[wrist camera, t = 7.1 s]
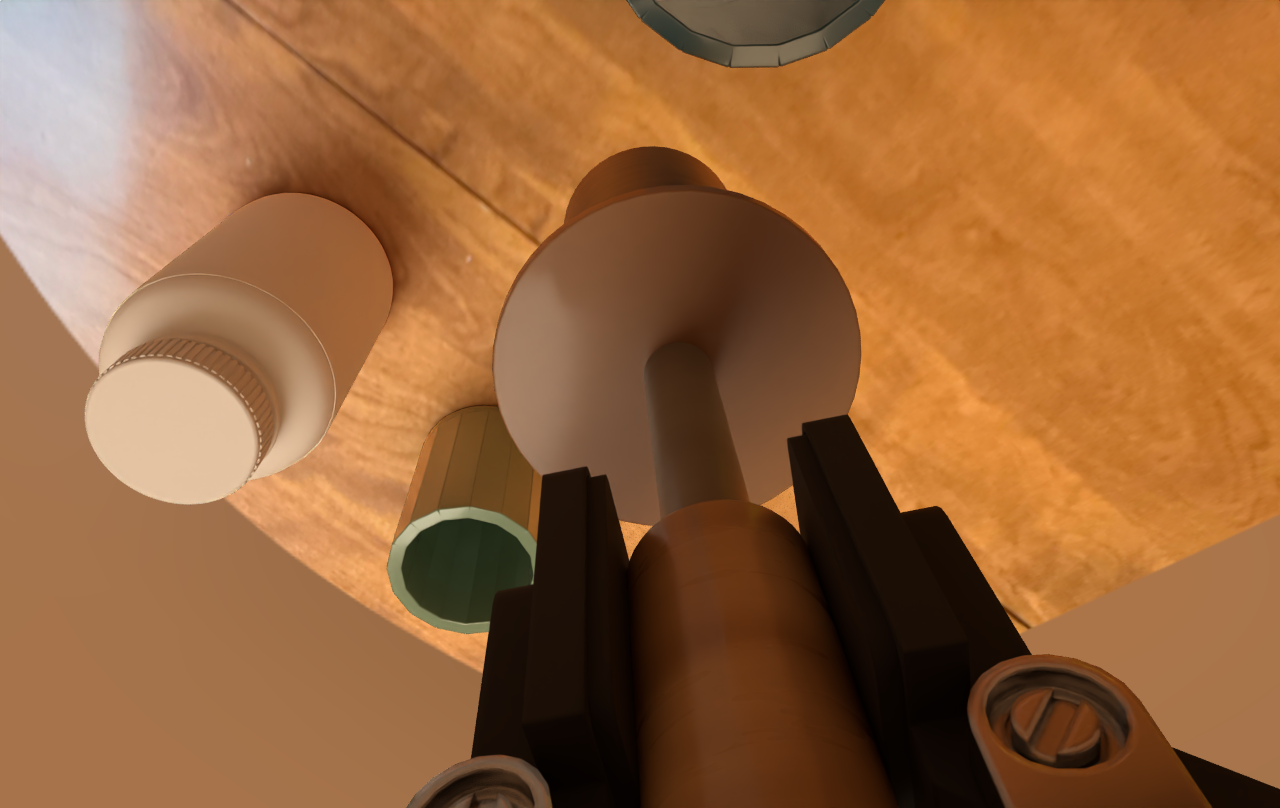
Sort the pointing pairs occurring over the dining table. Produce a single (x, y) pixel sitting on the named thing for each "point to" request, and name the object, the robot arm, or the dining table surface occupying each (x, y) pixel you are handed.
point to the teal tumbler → (754, 27)
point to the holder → (466, 523)
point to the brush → (700, 468)
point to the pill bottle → (239, 350)
